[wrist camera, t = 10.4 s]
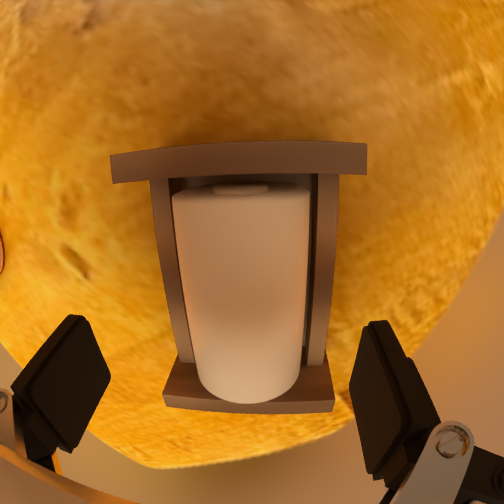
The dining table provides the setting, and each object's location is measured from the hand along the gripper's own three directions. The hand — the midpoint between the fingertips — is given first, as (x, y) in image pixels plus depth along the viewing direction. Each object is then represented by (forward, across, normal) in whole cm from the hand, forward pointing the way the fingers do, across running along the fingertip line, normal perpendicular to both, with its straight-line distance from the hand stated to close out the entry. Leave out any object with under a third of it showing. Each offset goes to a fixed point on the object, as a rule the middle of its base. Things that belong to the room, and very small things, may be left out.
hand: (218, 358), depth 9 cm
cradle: (+10, 0, +1) cm, 10 cm away
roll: (+9, 0, +1) cm, 9 cm away
